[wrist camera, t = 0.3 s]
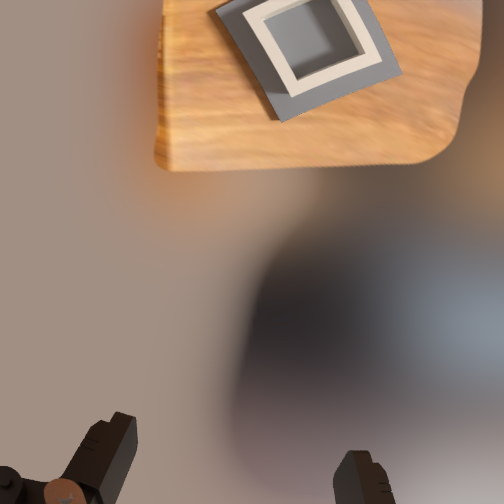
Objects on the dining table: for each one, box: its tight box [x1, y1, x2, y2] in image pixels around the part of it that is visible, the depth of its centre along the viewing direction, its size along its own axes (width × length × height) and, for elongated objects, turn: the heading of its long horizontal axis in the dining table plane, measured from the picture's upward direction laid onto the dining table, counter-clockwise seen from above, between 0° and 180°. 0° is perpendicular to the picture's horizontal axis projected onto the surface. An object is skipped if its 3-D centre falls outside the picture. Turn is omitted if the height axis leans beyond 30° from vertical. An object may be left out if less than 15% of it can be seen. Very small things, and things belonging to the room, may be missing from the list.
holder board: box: [215, 0, 402, 123], centre depth 25 cm, size 14×14×4 cm
